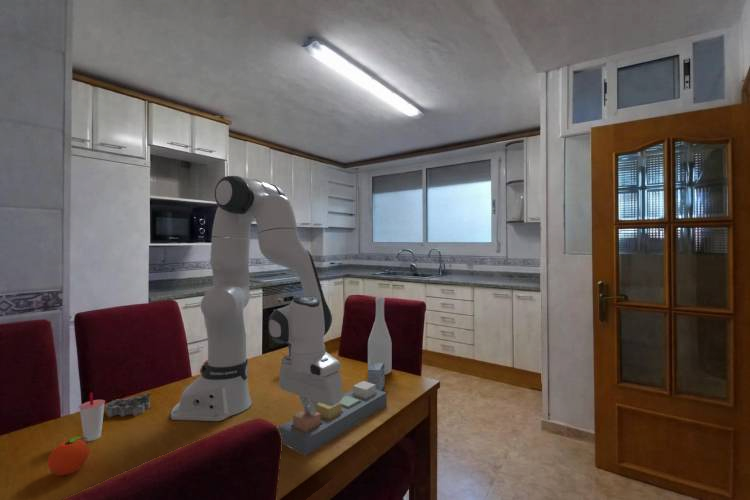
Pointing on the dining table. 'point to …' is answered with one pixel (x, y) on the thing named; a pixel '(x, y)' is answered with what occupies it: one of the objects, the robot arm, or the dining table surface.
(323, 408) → the button mustard
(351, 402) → the button sage
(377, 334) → the grey bottle
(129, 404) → the egg carton
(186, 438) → the dining table surface
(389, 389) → the dining table surface
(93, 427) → the cup
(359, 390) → the button cream
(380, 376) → the medicine box
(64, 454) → the clementine
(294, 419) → the button terracotta
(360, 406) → the tray
